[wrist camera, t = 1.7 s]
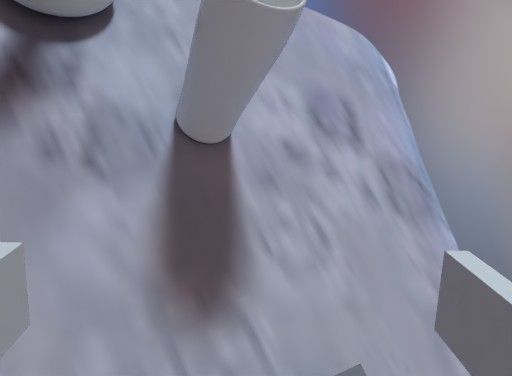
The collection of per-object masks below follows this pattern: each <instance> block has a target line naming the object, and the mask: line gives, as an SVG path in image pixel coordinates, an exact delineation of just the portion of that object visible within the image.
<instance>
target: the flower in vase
mask: <svg viewBox="0 0 512 376" xmlns="http://www.w3.org/2000/svg"><path fill="white" fill-rule="evenodd" d="M15 1H16V2H18V3H20V4H22V5H24V6H26V7H28V8H30V9H33V10H35V11H39V12H42V13H45V14H50V15H55V16H63V17H81V16H87V15H92V14H95V13H98V12H100V11H102V10H103V9H105V8H106V7H108V6H109V5H110V4H111V3H112V2H113V1H114V0H15Z"/></svg>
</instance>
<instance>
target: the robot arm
mask: <svg viewBox="0 0 512 376" xmlns="http://www.w3.org/2000/svg"><path fill="white" fill-rule="evenodd" d="M29 325H30V319H29V307H28V295H27V282H26V270H25V257H24V245H23V243H17V242H0V358H1V357H2V356H3V355H4V354H5V353H6V352H7V350H8V349H9V348H10V347H11V346H12V345H13V344H14V342H15V341H16V340H17V339H18V338H19V337H20V336H21V334H22V333H23V332H24V331H25V330H26V329H27V328H28V326H29ZM434 330H435V331H436V332H437V333H438V335H439V336H440V337H441V338H442V340H443V341H444V342H445V343H446V345H447V346H448V347H449V348H450V349H451V351H452V352H453V353H454V354H455V356H456V357H457V358H458V359H459V361H460V362H461V363H462V364H463V366H464V367H465V368H466V369H467V371H468V372H469V373H470V374H471V376H512V282H511V281H509V280H508V279H506V278H505V277H504V276H502V275H501V274H499V273H498V272H497V271H495V270H494V269H492V268H491V267H490V266H488V265H487V264H485V263H484V262H483V261H481V260H480V259H478V258H477V257H476V256H474V255H473V254H471V253H470V252H469V251H444V259H443V266H442V274H441V282H440V290H439V297H438V305H437V313H436V321H435V328H434Z"/></svg>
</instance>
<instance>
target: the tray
mask: <svg viewBox="0 0 512 376" xmlns="http://www.w3.org/2000/svg"><path fill="white" fill-rule="evenodd" d="M335 376H366V374H365V372H364V370H363V368H362V366H361V364H359V365H356V366H354V367H352V368H350V369H348V370H346V371H344V372H342V373H339V374H337V375H335Z"/></svg>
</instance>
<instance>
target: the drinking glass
mask: <svg viewBox="0 0 512 376" xmlns="http://www.w3.org/2000/svg"><path fill="white" fill-rule="evenodd" d="M306 1H307V0H201V3H200V7H199V11H198V15H197V19H196V24H195V29H194V34H193V39H192V44H191V49H190V54H189V59H188V64H187V68H186V73H185V78H184V83H183V87H182V92H181V96H180V100H179V103H178V106H177V109H176V119H177V123H178V125H179V127H180V128H181V130H182V131H183V132H184V133H185V134H186V135H188V136H189V137H190V138H192V139H194V140H196V141H199V142H202V143H218V142H221V141H223V140H225V139H226V138H227V137H228V136H229V135H230V134H231V132H232V130H233V128H234V126H235V124H236V122H237V121H238V119H239V117H240V116H241V114H242V113H243V111H244V109H245V108H246V106H247V105H248V103H249V102H250V100H251V98H252V97H253V95H254V94H255V92H256V91H257V89H258V88H259V86H260V84H261V83H262V81H263V80H264V78H265V77H266V75H267V74H268V72H269V71H270V69H271V68H272V66H273V64H274V63H275V61H276V60H277V58H278V57H279V55H280V53H281V52H282V50H283V48H284V47H285V45H286V43H287V41H288V39H289V37H290V36H291V34H292V32H293V30H294V28H295V26H296V23H297V21H298V19H299V17H300V15H301V12H302V10H303V8H304V6H305V4H306Z"/></svg>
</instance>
